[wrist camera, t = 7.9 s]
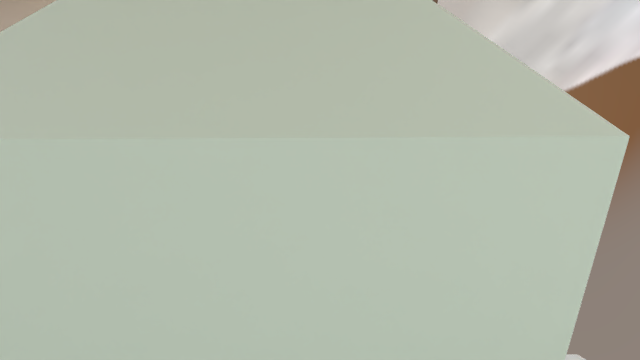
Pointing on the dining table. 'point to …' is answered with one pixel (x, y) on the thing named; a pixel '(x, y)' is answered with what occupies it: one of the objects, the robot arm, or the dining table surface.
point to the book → (289, 185)
